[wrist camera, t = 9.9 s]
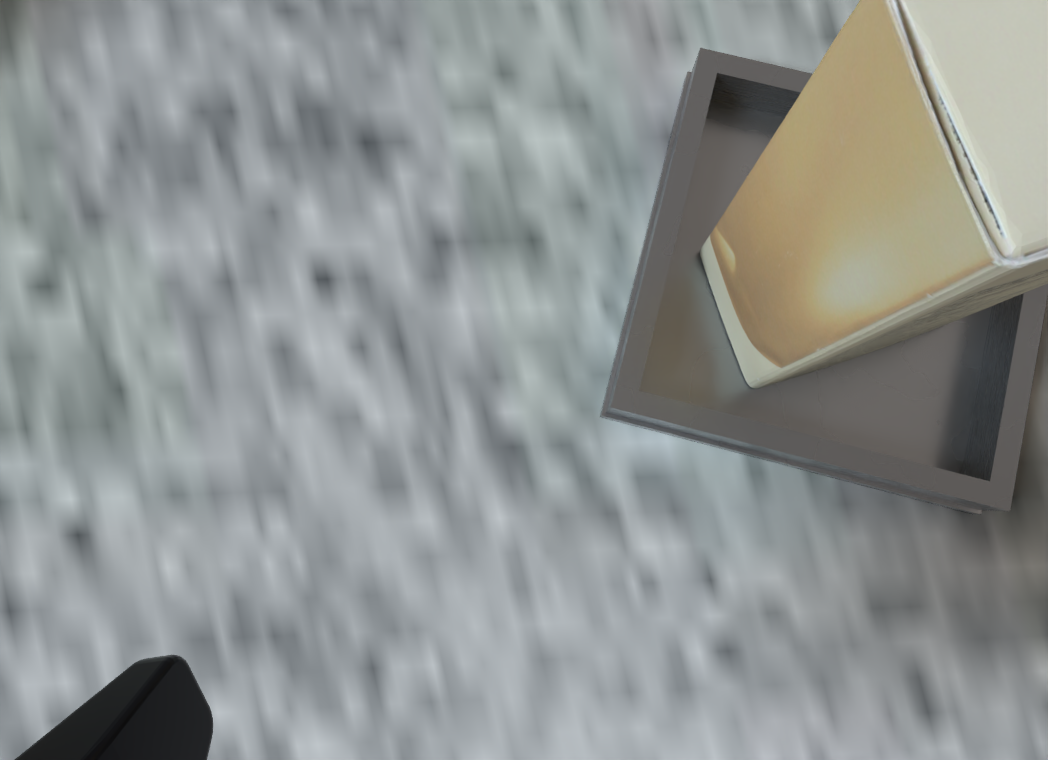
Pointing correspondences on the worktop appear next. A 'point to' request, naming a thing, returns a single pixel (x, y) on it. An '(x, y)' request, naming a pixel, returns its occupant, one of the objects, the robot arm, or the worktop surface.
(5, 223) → the worktop surface
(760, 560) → the worktop surface
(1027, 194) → the skincare box
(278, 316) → the worktop surface
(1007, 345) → the square gray open tray
